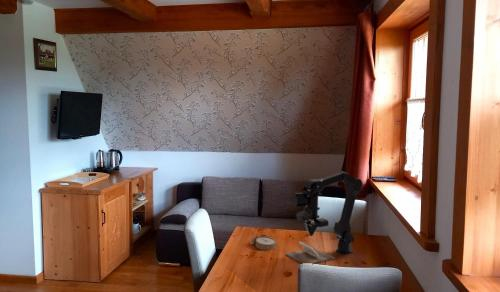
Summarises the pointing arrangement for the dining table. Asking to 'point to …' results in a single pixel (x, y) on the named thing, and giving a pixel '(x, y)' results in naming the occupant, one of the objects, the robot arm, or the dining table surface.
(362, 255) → the dining table surface
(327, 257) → the board
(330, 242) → the dining table surface
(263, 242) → the alarm clock
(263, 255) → the dining table surface
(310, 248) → the tile
